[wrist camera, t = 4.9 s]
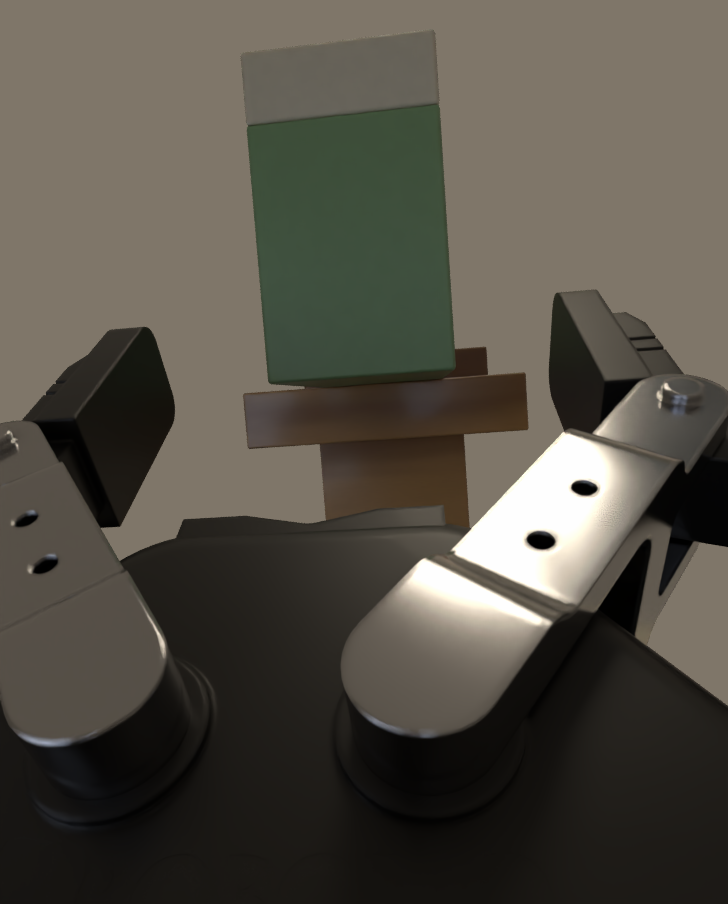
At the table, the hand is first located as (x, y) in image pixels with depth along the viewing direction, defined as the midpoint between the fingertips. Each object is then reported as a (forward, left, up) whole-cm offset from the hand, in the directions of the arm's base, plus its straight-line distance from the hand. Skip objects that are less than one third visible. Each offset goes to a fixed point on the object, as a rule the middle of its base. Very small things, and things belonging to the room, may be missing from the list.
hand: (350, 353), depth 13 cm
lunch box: (0, +12, 0) cm, 12 cm away
